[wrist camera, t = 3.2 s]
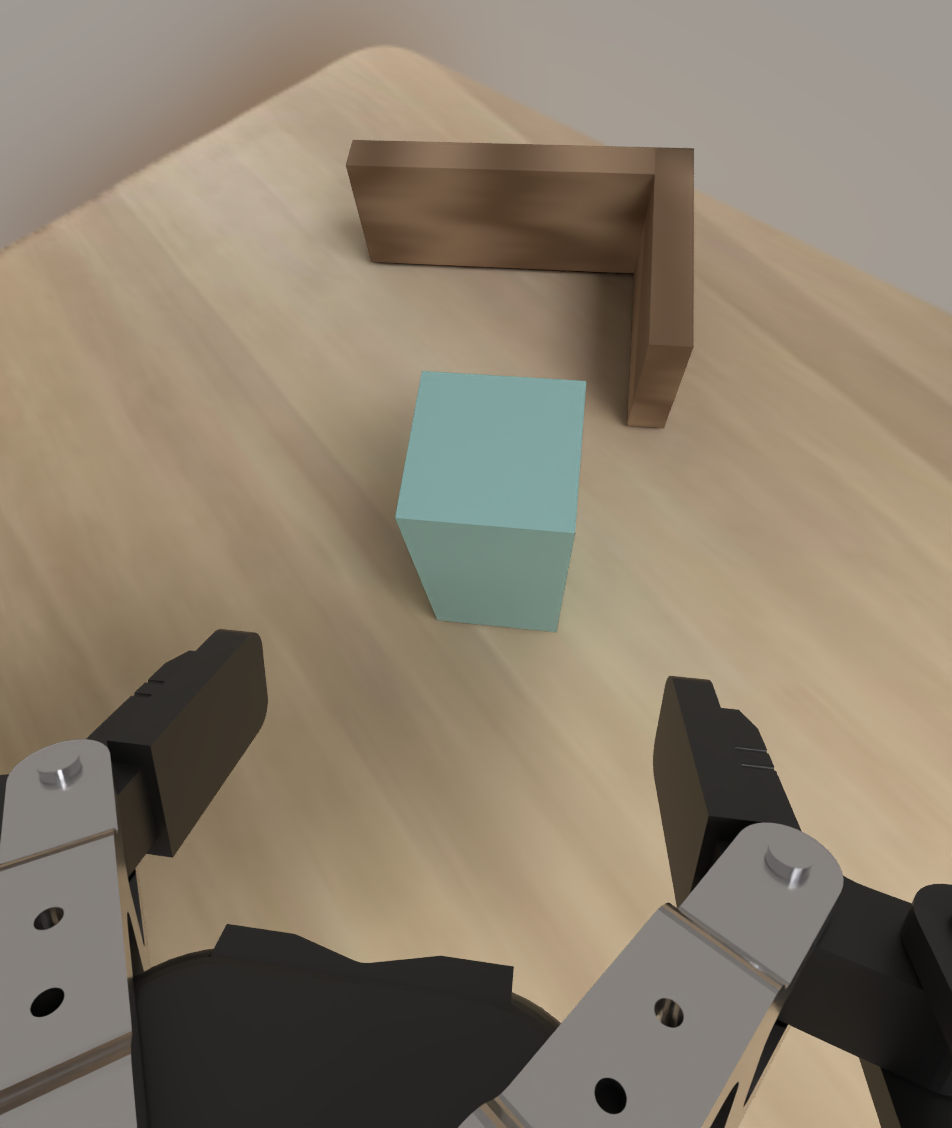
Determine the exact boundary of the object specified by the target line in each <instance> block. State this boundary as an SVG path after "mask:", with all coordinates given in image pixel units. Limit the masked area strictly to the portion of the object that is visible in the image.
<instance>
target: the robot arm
mask: <svg viewBox="0 0 952 1128" xmlns="http://www.w3.org/2000/svg"><path fill="white" fill-rule="evenodd" d="M267 704H268V696H267V687H266V677H265V668H264V659H263V649H262V642H261V638H260V636H259V635H258V634H257V633H254V632H244V631H234V630H224V629H219V630H217V631H215V632H214V633H213V634H212V635H211V636H210V637H209V638H208V639H207V640H206V641H205V642H204V643H203V644H202V645H201V646H200V647H199V648H198V649H197V650H196V651H188V652H186V653H184V654H182V655H180V656H178V657H176V658H175V659H173V660H171V661H169V662H167V663H165V664H164V665H163V666H162V667H161V668H160V669H159V670H158V671H157V672H156V673H155V674H154V675H152V676H151V677H150V678H149V679H148V683H144V684H143V685H142V686H141V687H140V688H139V689H138V690H137V691H136V692H135V694H134V696H131V697H129V698H128V699H127V700H126V701H125V702H124V703H123V704H122V705H121V706H120V707H119V708H118V709H117V710H116V711H115V712H114V713H113V714H112V715H111V716H110V717H109V718H108V719H106V720H105V721H104V722H103V723H102V724H101V725H100V726H99V727H98V728H97V729H96V730H95V731H94V732H93V733H92V734H91V735H90V736H89V737H88V738H87V739H76V740H68V741H63V742H59V743H56V744H52V745H50V746H47V747H44V748H42V749H40V750H38V751H36V752H34V753H32V754H31V755H29V756H27V757H26V758H25V759H23V760H22V761H21V762H19V763H18V764H17V765H16V766H15V767H14V769H13V770H12V771H11V772H10V774H8V775H0V1128H738V1127H739V1125H740V1123H741V1121H742V1119H743V1117H744V1115H745V1113H746V1111H747V1109H748V1107H749V1105H750V1103H751V1102H752V1100H753V1098H754V1096H755V1094H756V1092H757V1090H758V1088H759V1086H760V1084H761V1082H762V1080H763V1079H764V1077H765V1075H766V1073H767V1071H768V1069H769V1067H770V1065H771V1063H772V1061H773V1059H774V1057H775V1056H776V1054H777V1052H778V1050H779V1048H780V1046H781V1044H782V1042H783V1040H784V1038H785V1036H786V1034H787V1033H788V1031H789V1029H790V1027H791V1026H793V1027H795V1028H797V1029H799V1030H801V1031H803V1032H806V1033H808V1034H810V1035H812V1036H814V1037H816V1038H819V1039H821V1040H823V1041H825V1042H827V1043H829V1044H831V1045H834V1046H836V1047H838V1048H840V1049H842V1050H844V1051H847V1052H849V1053H851V1054H853V1055H855V1056H857V1057H859V1059H860V1062H861V1065H862V1068H863V1072H864V1075H865V1078H866V1081H867V1084H868V1087H869V1090H870V1094H871V1097H872V1100H873V1103H874V1106H875V1109H876V1112H877V1115H878V1119H879V1122H880V1125H881V1128H952V885H948V884H932V885H928V886H925V887H923V888H921V889H920V890H919V891H918V892H917V893H916V895H915V897H914V900H913V902H912V904H911V903H909V902H906V901H903V900H901V899H898V898H895V897H892V896H890V895H887V894H884V893H882V892H879V891H876V890H873V889H871V888H868V887H866V886H863V885H861V884H858V883H856V882H854V881H852V880H850V879H848V878H846V877H845V876H843V874H842V871H841V868H840V866H839V864H838V863H837V861H836V859H835V858H834V857H833V855H832V854H831V853H830V852H829V851H828V850H827V849H826V848H825V847H824V846H823V845H822V844H820V843H819V842H818V841H816V840H815V839H814V838H812V837H810V836H809V835H807V834H805V833H803V832H802V831H801V829H800V826H799V824H798V822H797V819H796V817H795V815H794V812H793V810H792V808H791V805H790V803H789V801H788V798H787V796H786V794H785V791H784V789H783V786H782V784H781V782H780V779H779V777H778V775H777V772H776V771H774V765H773V763H772V761H771V758H770V756H769V754H768V753H767V749H766V746H765V744H764V742H763V739H762V737H761V735H760V732H759V730H758V728H757V727H756V726H755V725H754V724H753V723H752V722H751V721H750V720H749V719H747V718H746V717H745V716H744V715H743V714H742V713H741V712H740V711H739V710H735V709H726V708H721V707H720V704H719V701H718V698H717V696H716V693H715V690H714V687H713V684H712V682H711V681H710V680H706V679H696V678H686V677H676V676H669V677H668V678H667V681H666V684H665V689H664V695H663V700H662V705H661V711H660V716H659V721H658V727H657V732H656V738H655V744H654V754H653V771H654V779H655V785H656V790H657V796H658V802H659V807H660V813H661V819H662V825H663V830H664V836H665V842H666V847H667V853H668V859H669V864H670V870H671V876H672V882H673V887H674V893H675V899H676V904H677V908H676V907H674V906H673V905H672V904H670V903H666V904H664V905H662V906H661V907H660V908H659V909H658V910H657V911H656V912H655V913H654V914H653V915H652V917H651V918H650V919H649V920H648V921H647V922H646V924H645V925H644V926H643V927H642V928H641V930H640V931H639V932H638V933H637V934H636V936H635V937H634V938H633V939H632V940H631V941H630V943H629V944H628V945H627V946H626V947H625V949H624V950H623V951H622V952H621V953H620V955H619V956H618V957H617V958H616V959H615V960H614V962H613V963H612V964H611V965H610V966H609V968H608V969H607V970H606V971H605V972H604V973H603V975H602V976H601V977H600V978H599V979H598V981H597V982H596V983H595V984H594V985H593V987H592V988H591V989H590V990H589V991H588V992H587V994H586V995H585V996H584V997H583V998H582V1000H581V1001H580V1002H579V1003H578V1004H577V1006H576V1007H575V1008H574V1009H573V1010H572V1011H571V1013H570V1014H569V1015H568V1016H567V1017H566V1019H565V1020H564V1021H563V1022H562V1023H560V1022H559V1021H558V1020H557V1019H555V1018H554V1017H553V1016H551V1015H550V1014H549V1013H548V1012H546V1011H545V1010H544V1009H542V1008H541V1007H539V1006H538V1005H536V1004H534V1003H533V1002H531V1001H529V1000H528V999H526V998H524V997H521V996H519V995H517V994H515V993H513V992H512V981H513V968H514V967H513V966H506V965H499V964H493V963H486V962H479V961H472V960H466V959H459V958H452V957H445V956H434V957H424V958H414V959H405V960H395V961H385V962H375V963H360V962H357V961H354V960H352V959H349V958H347V957H345V956H343V955H340V954H338V953H336V952H334V951H331V950H329V949H327V948H325V947H323V946H320V945H318V944H316V943H314V942H311V941H309V940H307V939H305V938H303V937H300V936H298V935H296V934H291V933H284V932H277V931H271V930H264V929H257V928H250V927H244V926H237V925H230V924H227V925H226V927H225V929H224V931H223V932H222V934H221V936H220V938H219V940H218V942H217V944H216V946H215V948H214V949H207V950H202V951H198V952H193V953H189V954H186V955H183V956H180V957H176V958H173V959H170V960H168V961H166V962H163V963H161V964H159V965H156V966H154V967H152V968H151V967H150V960H149V952H148V944H147V937H146V929H145V921H144V913H143V905H142V898H141V890H140V882H139V876H138V872H137V868H136V867H137V865H138V864H139V863H140V861H141V860H142V858H143V857H144V856H145V854H152V855H159V856H166V857H173V856H174V855H175V854H176V852H177V851H178V849H179V848H180V846H181V845H182V843H183V842H184V840H185V839H186V837H187V836H188V834H189V833H190V832H191V830H192V829H193V827H194V826H195V824H196V823H197V821H198V820H199V818H200V817H201V815H202V814H203V812H204V811H205V810H206V808H207V807H208V805H209V804H210V802H211V801H212V799H213V798H214V796H215V795H216V793H217V792H218V790H219V789H220V788H221V786H222V785H223V783H224V782H225V780H226V779H227V777H228V776H229V774H230V773H231V771H232V770H233V768H234V767H235V766H236V764H237V763H238V761H239V760H240V758H241V757H242V755H243V754H244V752H245V751H246V749H247V748H248V746H249V745H250V744H251V742H252V741H253V739H254V738H255V736H256V735H257V733H258V732H259V730H260V729H261V727H262V725H263V722H264V719H265V716H266V712H267Z"/></svg>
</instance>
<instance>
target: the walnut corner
mask: <svg viewBox="0 0 952 1128" xmlns="http://www.w3.org/2000/svg"><path fill="white" fill-rule="evenodd" d="M346 168H347V172H348V175H349V179H350V183H351V187H352V190H353V194H354V198H355V202H356V206H357V209H358V213H359V217H360V221H361V224H362V228H363V232H364V236H365V240H366V243H367V247H368V251H369V255H370V259H371V262H388V263H411V264H433V265H456V266H479V267H502V268H524V269H547V270H570V271H592V272H615V273H634V286H633V308H632V330H631V353H630V375H629V397H628V420H627V425H628V426H642V427H657V428H664V426H665V423H666V421H667V418H668V415H669V412H670V410H671V407H672V404H673V401H674V399H675V396H676V393H677V390H678V388H679V385H680V382H681V379H682V377H683V374H684V371H685V368H686V366H687V363H688V360H689V357H690V355H691V352H692V349H693V297H694V149H693V148H653V147H652V148H651V147H614V146H573V145H533V144H492V143H452V142H411V141H371V140H353V141H352V144H351V148H350V152H349V156H348V159H347V163H346Z"/></svg>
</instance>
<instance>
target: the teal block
mask: <svg viewBox="0 0 952 1128" xmlns="http://www.w3.org/2000/svg"><path fill="white" fill-rule="evenodd" d="M585 392H586V381H578V380H561V379H545V378H528V377H512V376H495V375H479V374H462V373H446V372H430V371H422V374H421V379H420V385H419V390H418V396H417V401H416V406H415V412H414V417H413V423H412V428H411V434H410V439H409V445H408V450H407V456H406V461H405V467H404V472H403V477H402V483H401V488H400V494H399V499H398V505H397V510H396V516H395V519H396V521H397V524H398V526H399V529H400V531H401V534H402V536H403V538H404V541H405V543H406V546H407V548H408V550H409V553H410V555H411V558H412V560H413V563H414V565H415V567H416V570H417V572H418V575H419V577H420V580H421V582H422V584H423V587H424V589H425V592H426V594H427V597H428V599H429V601H430V604H431V606H432V609H433V611H434V614H435V616H436V618H437V620H440V621H450V622H460V623H470V624H480V625H490V626H499V627H509V628H519V629H529V630H539V631H549V632H556V631H557V626H558V621H559V615H560V610H561V605H562V599H563V594H564V589H565V584H566V578H567V573H568V568H569V562H570V557H571V552H572V547H573V541H574V536H575V527H576V514H577V500H578V486H579V473H580V459H581V446H582V432H583V419H584V405H585Z"/></svg>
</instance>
